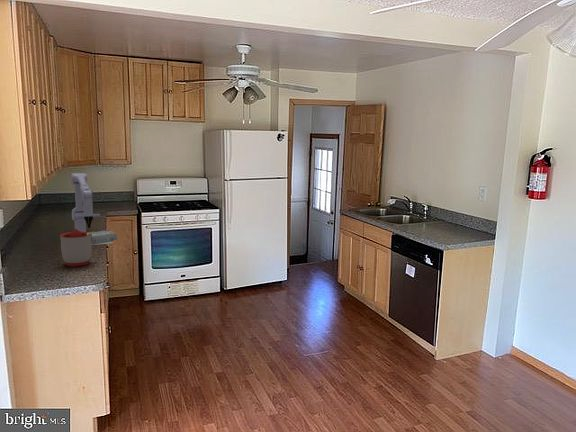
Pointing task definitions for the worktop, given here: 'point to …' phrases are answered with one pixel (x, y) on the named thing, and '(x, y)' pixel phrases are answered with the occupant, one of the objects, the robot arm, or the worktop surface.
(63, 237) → the citrus juicer
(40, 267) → the worktop surface
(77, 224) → the robot arm
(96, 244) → the mat
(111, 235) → the snack box
